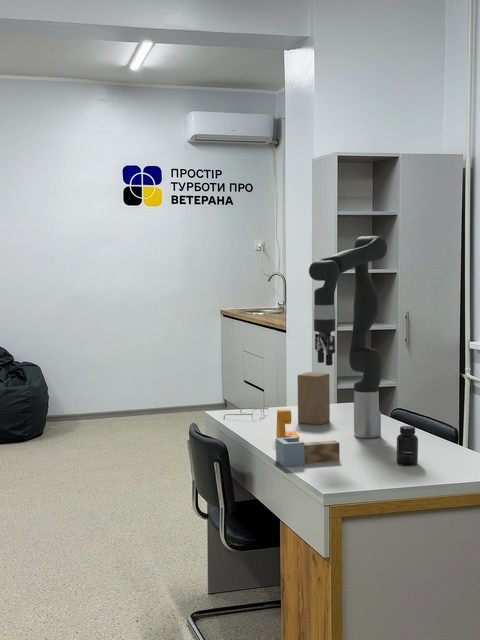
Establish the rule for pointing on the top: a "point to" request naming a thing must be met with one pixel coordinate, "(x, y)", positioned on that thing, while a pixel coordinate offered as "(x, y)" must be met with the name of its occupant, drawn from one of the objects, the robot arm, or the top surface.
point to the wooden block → (313, 398)
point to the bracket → (283, 419)
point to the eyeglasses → (248, 414)
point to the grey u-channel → (290, 452)
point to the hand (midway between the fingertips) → (324, 364)
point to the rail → (321, 451)
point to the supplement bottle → (407, 446)
